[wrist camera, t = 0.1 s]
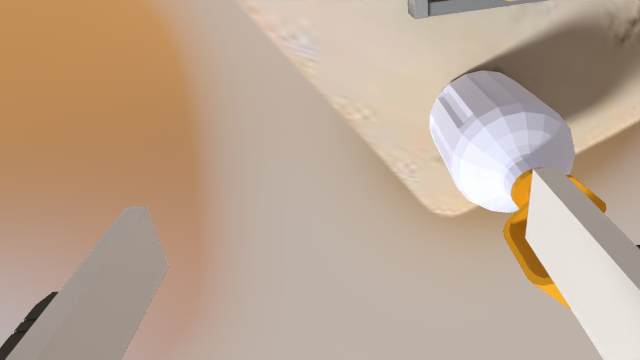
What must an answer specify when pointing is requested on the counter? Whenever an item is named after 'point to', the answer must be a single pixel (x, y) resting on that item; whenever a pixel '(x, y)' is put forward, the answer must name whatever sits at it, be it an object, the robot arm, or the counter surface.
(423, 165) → the counter surface
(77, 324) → the robot arm
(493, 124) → the soap bottle
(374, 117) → the counter surface
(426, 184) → the counter surface
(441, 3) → the grey tray
